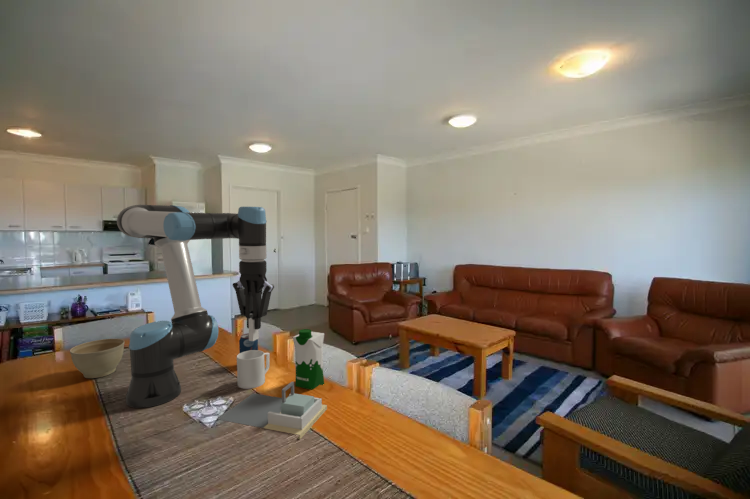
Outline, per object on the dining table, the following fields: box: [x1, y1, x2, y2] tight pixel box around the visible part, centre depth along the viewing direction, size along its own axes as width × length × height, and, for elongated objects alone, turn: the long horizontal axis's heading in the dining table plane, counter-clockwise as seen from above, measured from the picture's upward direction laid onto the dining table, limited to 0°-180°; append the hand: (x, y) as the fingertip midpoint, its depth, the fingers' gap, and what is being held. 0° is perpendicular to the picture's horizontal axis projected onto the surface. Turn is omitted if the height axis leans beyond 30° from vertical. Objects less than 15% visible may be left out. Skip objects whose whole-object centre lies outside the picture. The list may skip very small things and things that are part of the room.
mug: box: [236, 349, 271, 390], centre depth 125 cm, size 12×9×11 cm
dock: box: [217, 393, 328, 440], centre depth 104 cm, size 26×16×4 cm, turn 72°
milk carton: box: [292, 328, 325, 391], centre depth 123 cm, size 9×9×20 cm
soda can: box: [238, 332, 259, 354], centre depth 142 cm, size 7×7×12 cm
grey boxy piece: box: [281, 381, 315, 417], centre depth 101 cm, size 7×6×9 cm
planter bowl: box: [69, 338, 125, 379], centre depth 135 cm, size 16×16×11 cm
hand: (254, 339), depth 107 cm, fingers closed
